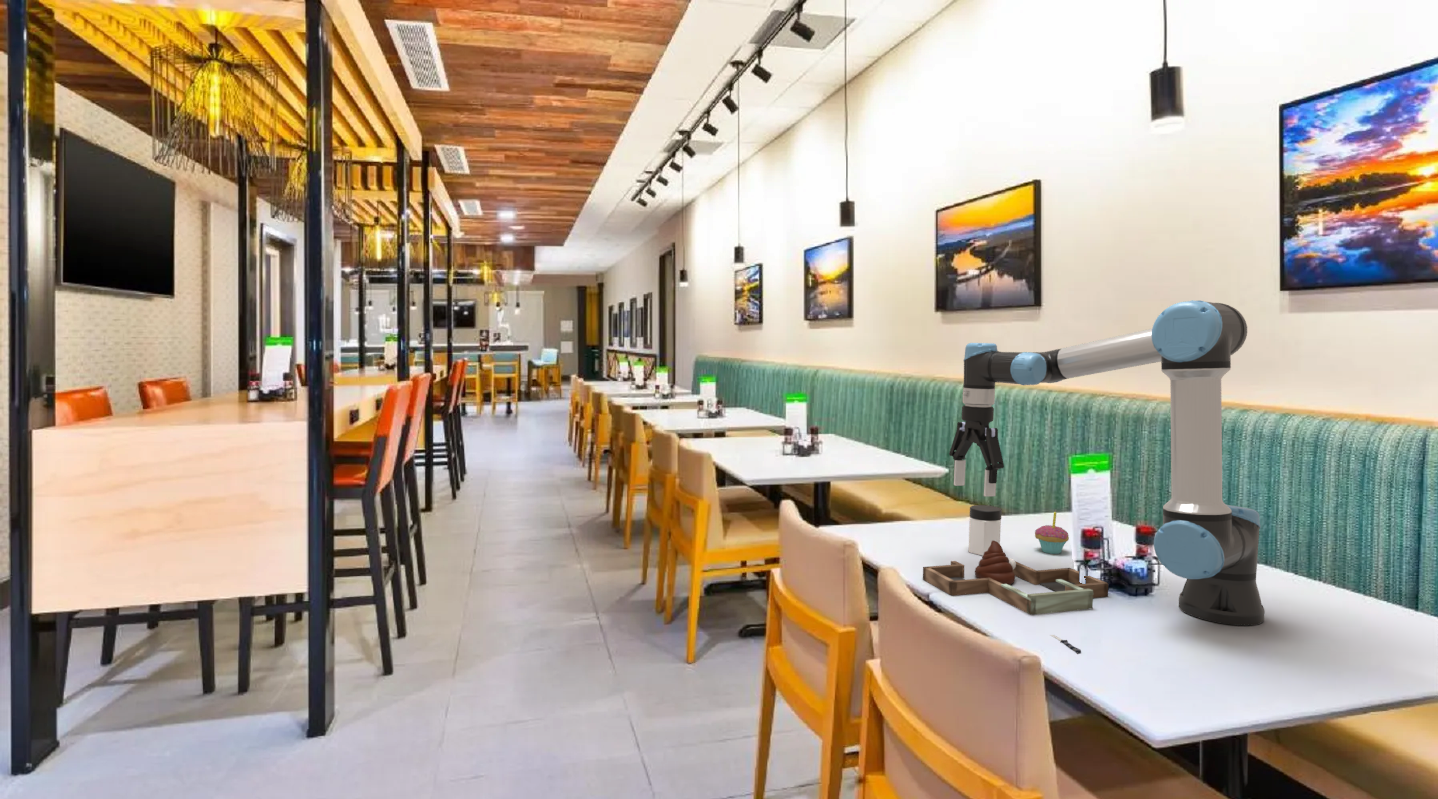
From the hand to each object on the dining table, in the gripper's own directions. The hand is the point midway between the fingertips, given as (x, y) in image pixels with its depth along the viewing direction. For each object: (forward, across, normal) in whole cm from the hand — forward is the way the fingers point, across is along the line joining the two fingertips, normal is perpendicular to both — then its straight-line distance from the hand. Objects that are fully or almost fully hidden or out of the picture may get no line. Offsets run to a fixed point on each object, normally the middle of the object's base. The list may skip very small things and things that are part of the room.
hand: (973, 490), depth 195 cm
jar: (+20, -11, +12) cm, 25 cm away
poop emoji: (+20, +11, 0) cm, 22 cm away
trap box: (+19, +19, 0) cm, 27 cm away
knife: (+19, +44, -12) cm, 49 cm away
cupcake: (+20, -7, +30) cm, 36 cm away
